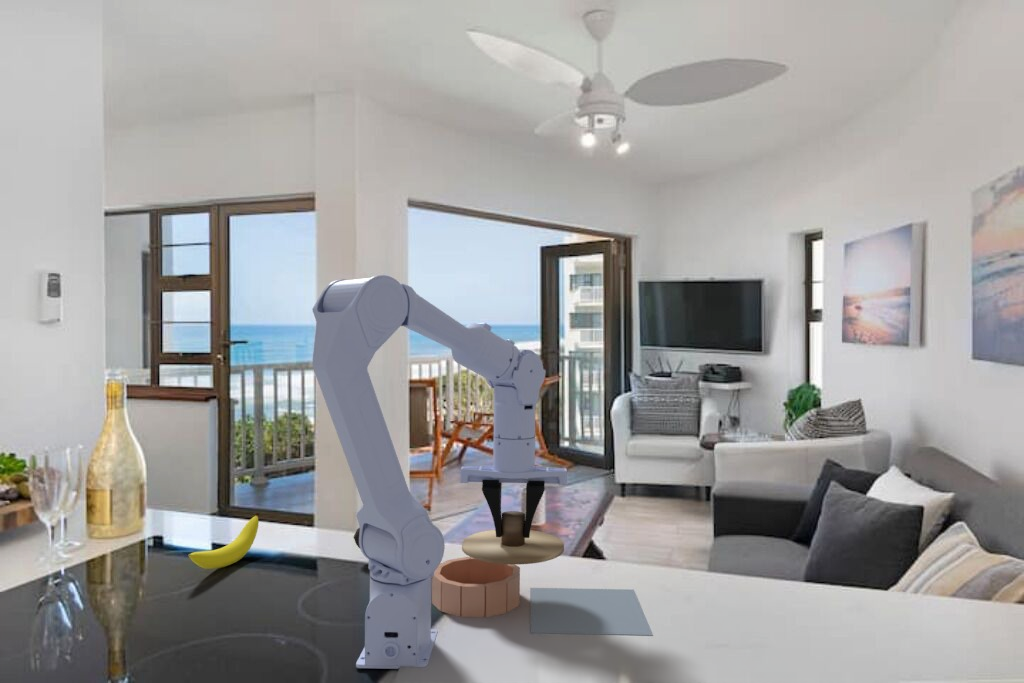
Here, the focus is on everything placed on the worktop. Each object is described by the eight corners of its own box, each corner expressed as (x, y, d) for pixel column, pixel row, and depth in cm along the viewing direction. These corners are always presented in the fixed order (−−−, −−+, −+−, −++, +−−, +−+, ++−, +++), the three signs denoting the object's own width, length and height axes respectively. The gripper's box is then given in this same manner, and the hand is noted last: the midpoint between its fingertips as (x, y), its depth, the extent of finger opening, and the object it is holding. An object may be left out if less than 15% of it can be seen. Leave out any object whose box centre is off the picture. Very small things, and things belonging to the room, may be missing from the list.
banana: (179, 587, 99) (179, 544, 99) (250, 547, 118) (250, 511, 118) (197, 589, 99) (197, 545, 99) (265, 548, 117) (265, 512, 117)
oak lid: (566, 565, 86) (567, 529, 86) (456, 563, 86) (457, 527, 86) (561, 533, 100) (561, 502, 100) (466, 532, 100) (467, 500, 100)
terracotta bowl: (518, 621, 88) (519, 587, 88) (427, 620, 88) (427, 585, 88) (519, 587, 100) (520, 557, 100) (439, 586, 100) (439, 556, 100)
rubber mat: (652, 639, 83) (652, 635, 83) (530, 637, 84) (530, 632, 84) (633, 593, 98) (633, 589, 98) (530, 591, 99) (530, 587, 99)
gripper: (565, 433, 97) (564, 528, 97) (464, 431, 97) (463, 526, 97) (568, 440, 90) (566, 543, 90) (459, 438, 90) (457, 540, 90)
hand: (512, 535), depth 93 cm, fingers closed on oak lid, 3 cm apart
